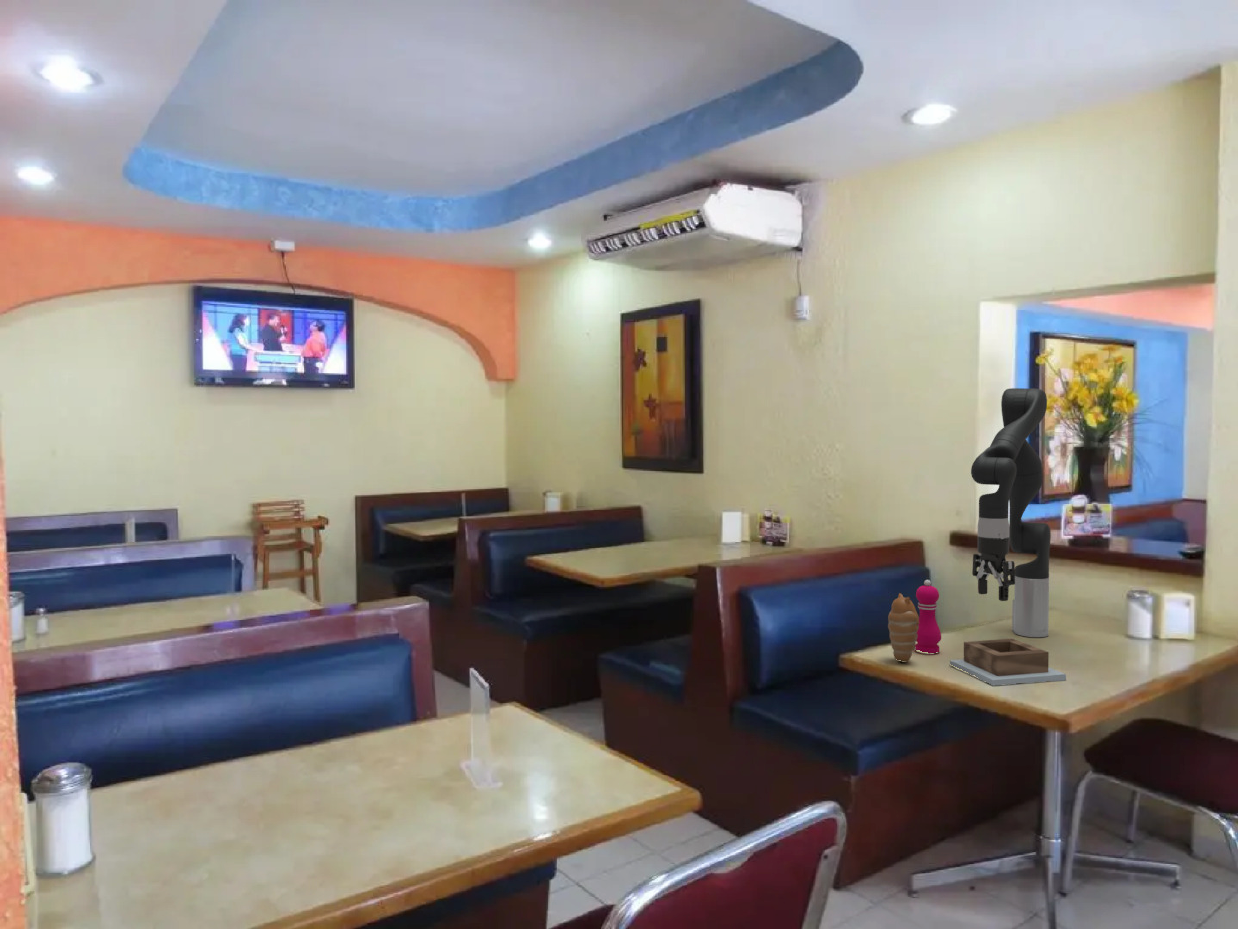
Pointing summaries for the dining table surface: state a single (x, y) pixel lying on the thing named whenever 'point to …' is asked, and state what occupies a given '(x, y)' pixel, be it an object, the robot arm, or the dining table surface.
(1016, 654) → the frame
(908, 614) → the cat ice cream
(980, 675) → the peg board
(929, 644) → the pepper mill
